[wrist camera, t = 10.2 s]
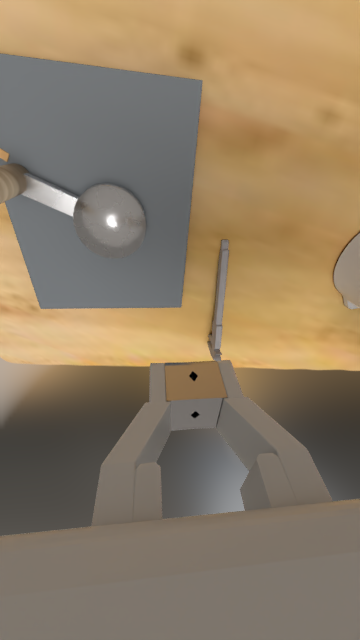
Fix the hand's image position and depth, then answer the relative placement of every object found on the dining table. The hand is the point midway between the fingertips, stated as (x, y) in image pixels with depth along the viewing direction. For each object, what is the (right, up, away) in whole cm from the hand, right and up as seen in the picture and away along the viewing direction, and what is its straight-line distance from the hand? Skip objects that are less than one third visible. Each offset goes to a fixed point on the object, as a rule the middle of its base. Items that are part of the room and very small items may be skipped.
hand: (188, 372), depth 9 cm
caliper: (+6, +6, +32) cm, 33 cm away
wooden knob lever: (-12, +15, +18) cm, 26 cm away
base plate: (-10, +15, +21) cm, 28 cm away
